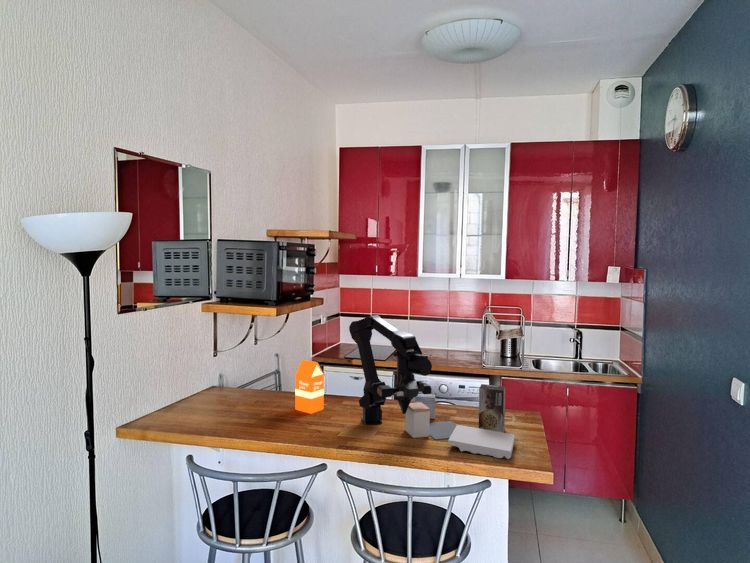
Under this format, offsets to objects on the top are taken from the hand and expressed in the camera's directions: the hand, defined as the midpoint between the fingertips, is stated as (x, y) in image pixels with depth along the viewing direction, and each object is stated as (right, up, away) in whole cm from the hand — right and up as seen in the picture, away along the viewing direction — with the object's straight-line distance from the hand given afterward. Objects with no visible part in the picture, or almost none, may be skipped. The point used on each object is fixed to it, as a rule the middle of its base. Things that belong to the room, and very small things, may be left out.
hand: (404, 413), depth 182 cm
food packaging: (+26, -9, -10) cm, 29 cm away
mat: (+15, -8, +5) cm, 17 cm away
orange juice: (-37, -6, +27) cm, 46 cm away
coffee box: (+33, -8, +7) cm, 34 cm away
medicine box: (+9, -7, +20) cm, 23 cm away
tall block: (+5, -8, +2) cm, 9 cm away
